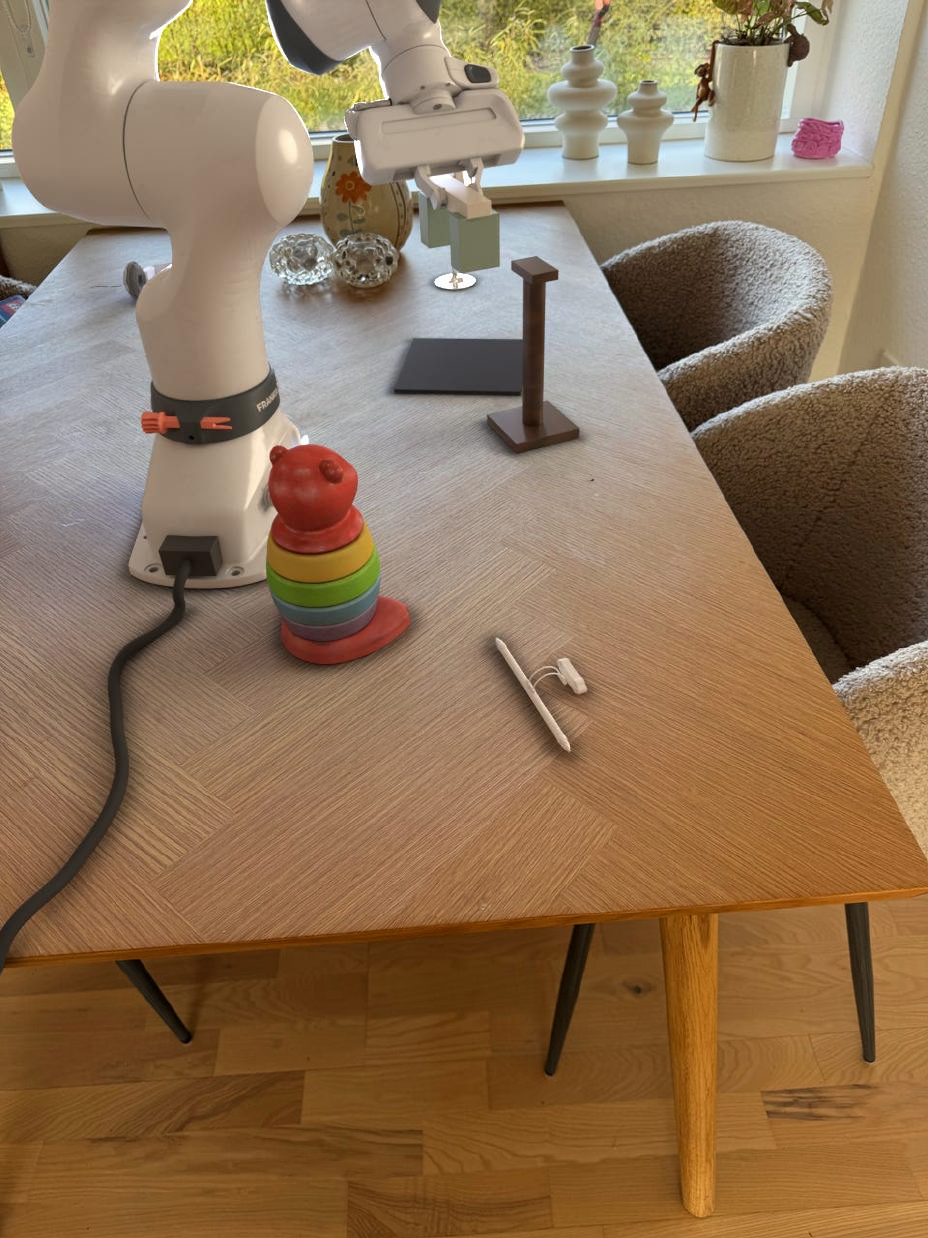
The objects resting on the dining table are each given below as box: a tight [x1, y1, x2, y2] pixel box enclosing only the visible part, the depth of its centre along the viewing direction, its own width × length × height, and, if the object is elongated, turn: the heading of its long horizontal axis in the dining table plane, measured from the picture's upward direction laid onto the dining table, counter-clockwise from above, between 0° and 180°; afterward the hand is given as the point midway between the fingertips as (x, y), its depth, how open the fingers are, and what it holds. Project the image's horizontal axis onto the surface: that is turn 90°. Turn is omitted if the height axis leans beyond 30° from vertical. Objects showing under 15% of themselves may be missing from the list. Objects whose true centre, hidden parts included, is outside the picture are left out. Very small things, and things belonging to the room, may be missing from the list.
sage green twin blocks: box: [417, 174, 501, 274], centre depth 110 cm, size 5×13×8 cm, turn 23°
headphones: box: [89, 260, 172, 301], centre depth 145 cm, size 17×6×20 cm
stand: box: [486, 255, 581, 454], centre depth 101 cm, size 8×8×19 cm
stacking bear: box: [266, 443, 411, 665], centre depth 75 cm, size 11×10×18 cm
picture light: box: [494, 637, 588, 753], centre depth 74 cm, size 14×4×2 cm, turn 21°
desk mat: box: [393, 337, 523, 396], centre depth 121 cm, size 16×16×1 cm
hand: (459, 203), depth 108 cm, fingers closed on sage green twin blocks, 3 cm apart
